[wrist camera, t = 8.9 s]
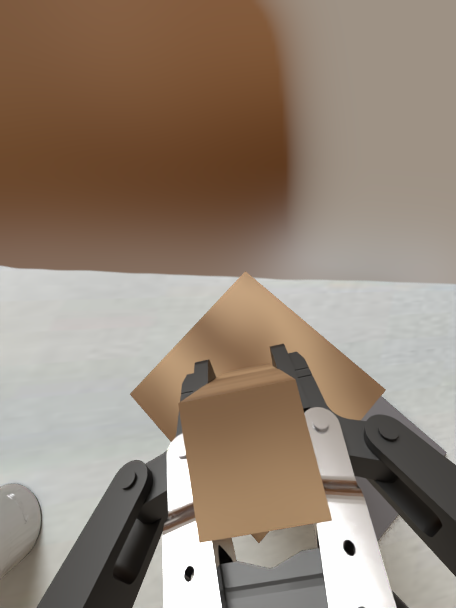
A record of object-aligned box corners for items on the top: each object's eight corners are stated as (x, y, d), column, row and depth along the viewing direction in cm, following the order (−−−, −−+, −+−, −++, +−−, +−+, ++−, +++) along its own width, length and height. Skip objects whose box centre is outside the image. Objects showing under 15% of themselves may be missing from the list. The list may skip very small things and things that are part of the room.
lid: (258, 533, 15) (273, 993, 4) (135, 392, 17) (-50, 454, 7) (379, 388, 16) (640, 460, 5) (245, 274, 18) (236, 167, 8)
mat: (369, 546, 27) (370, 549, 26) (280, 456, 29) (281, 457, 29) (443, 451, 28) (446, 452, 27) (352, 372, 30) (353, 372, 30)
